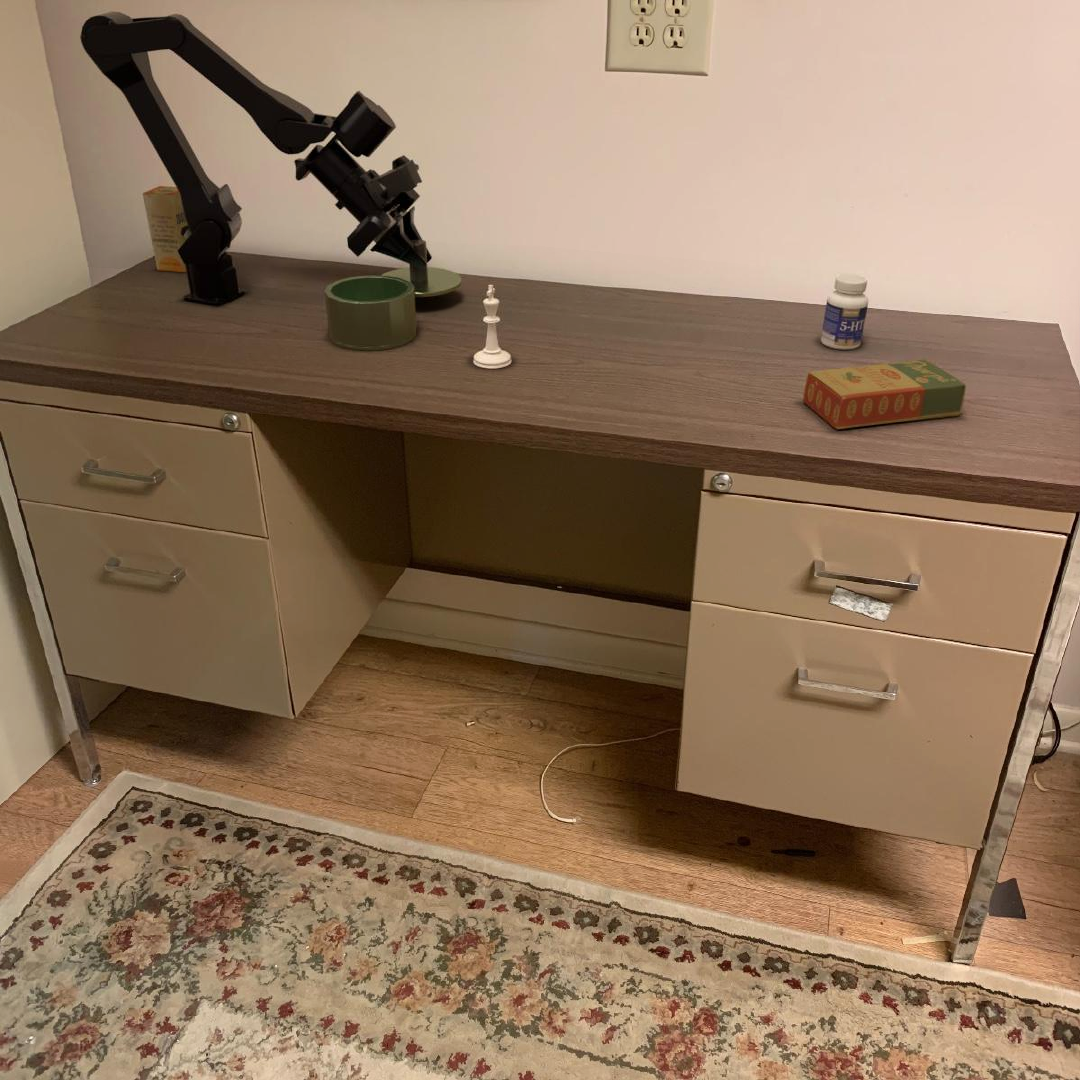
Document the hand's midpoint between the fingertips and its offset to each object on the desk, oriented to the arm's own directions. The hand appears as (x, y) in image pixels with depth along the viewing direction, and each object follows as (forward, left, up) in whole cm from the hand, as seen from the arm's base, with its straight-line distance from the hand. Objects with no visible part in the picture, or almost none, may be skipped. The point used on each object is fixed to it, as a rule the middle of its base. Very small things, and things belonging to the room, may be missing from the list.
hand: (427, 263), depth 149 cm
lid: (-1, 0, -3) cm, 3 cm away
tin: (0, -15, -6) cm, 16 cm away
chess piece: (+19, -17, -6) cm, 26 cm away
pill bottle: (+59, +8, -6) cm, 59 cm away
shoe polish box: (-45, -1, -6) cm, 46 cm away
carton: (+67, -12, -6) cm, 68 cm away
